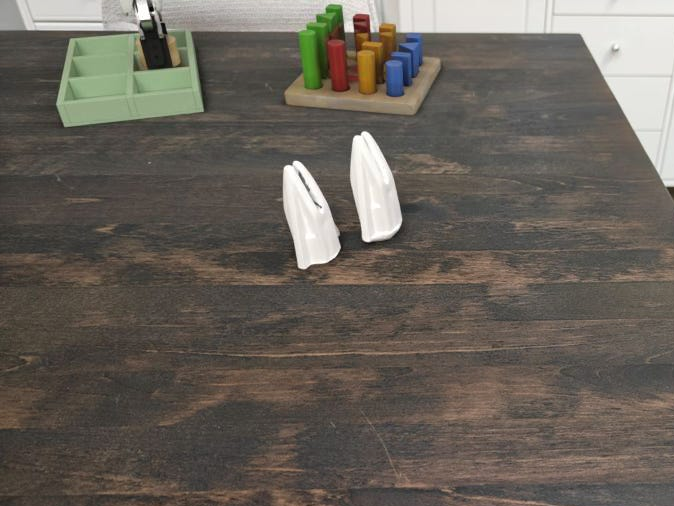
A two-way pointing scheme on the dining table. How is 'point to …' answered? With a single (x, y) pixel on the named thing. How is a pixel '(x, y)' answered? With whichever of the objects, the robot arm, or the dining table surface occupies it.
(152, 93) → the grid
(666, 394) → the dining table surface
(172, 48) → the token
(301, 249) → the shaker set
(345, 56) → the peg board
